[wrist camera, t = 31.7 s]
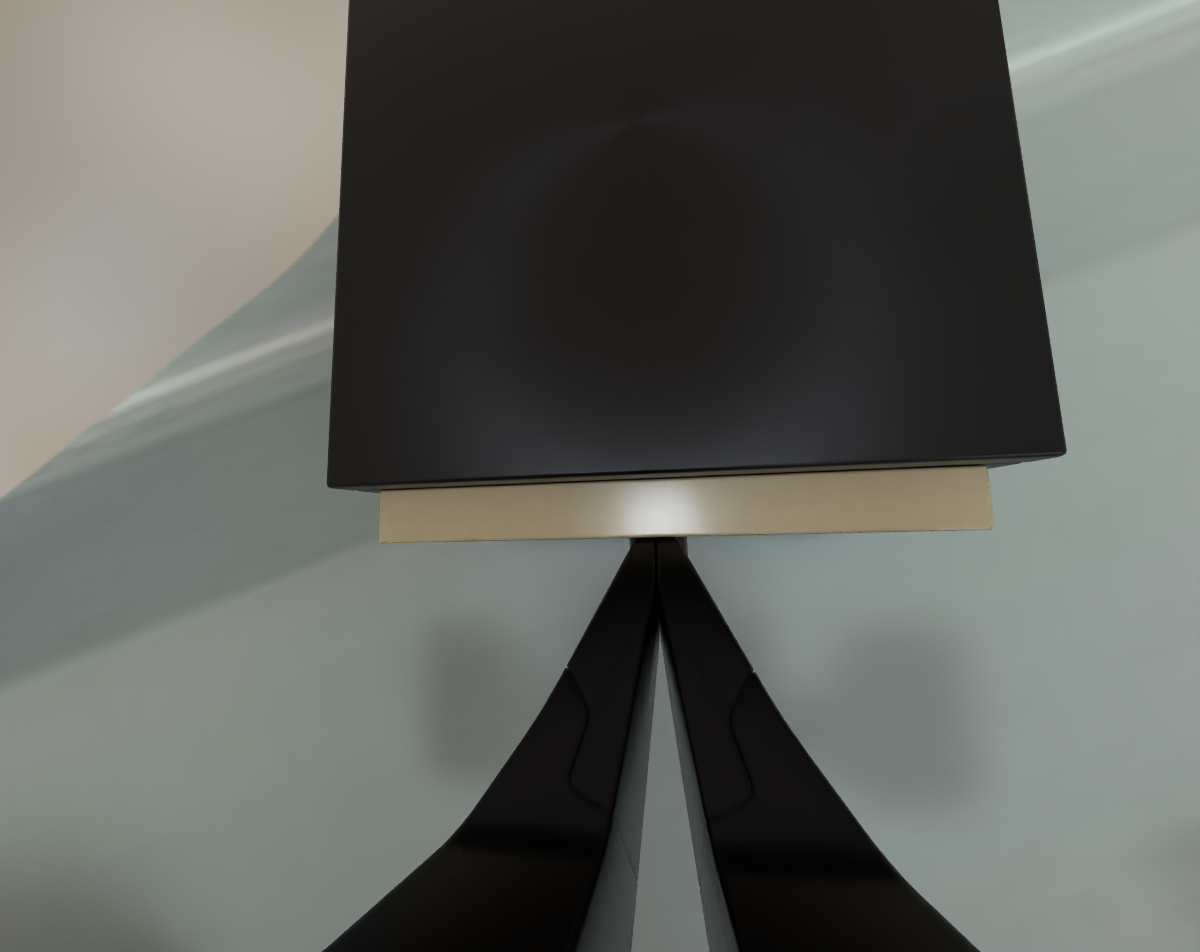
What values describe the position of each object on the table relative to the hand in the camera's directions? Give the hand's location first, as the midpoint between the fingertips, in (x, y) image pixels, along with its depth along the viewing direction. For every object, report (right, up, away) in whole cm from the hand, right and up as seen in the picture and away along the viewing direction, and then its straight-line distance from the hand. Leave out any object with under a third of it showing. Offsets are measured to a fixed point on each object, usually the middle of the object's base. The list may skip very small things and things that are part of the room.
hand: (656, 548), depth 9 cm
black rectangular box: (+1, +8, +8) cm, 11 cm away
